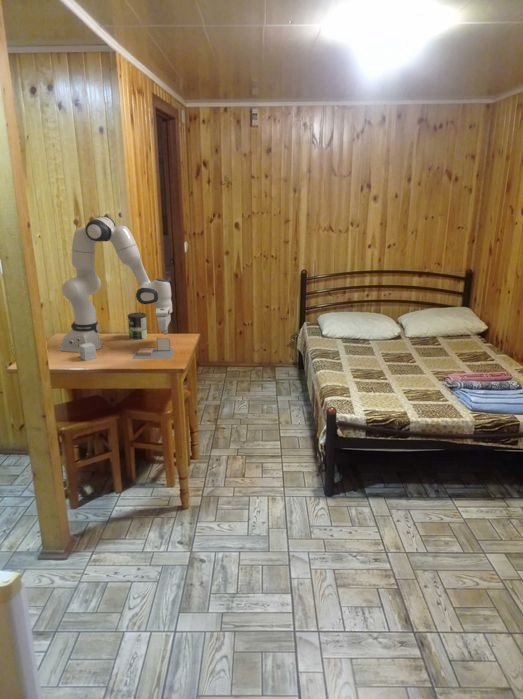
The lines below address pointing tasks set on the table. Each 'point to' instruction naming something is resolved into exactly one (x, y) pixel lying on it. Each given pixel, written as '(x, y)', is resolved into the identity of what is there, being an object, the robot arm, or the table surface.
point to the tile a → (145, 351)
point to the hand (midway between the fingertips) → (165, 333)
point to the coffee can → (137, 326)
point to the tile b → (163, 344)
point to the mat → (155, 355)
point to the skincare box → (87, 351)
